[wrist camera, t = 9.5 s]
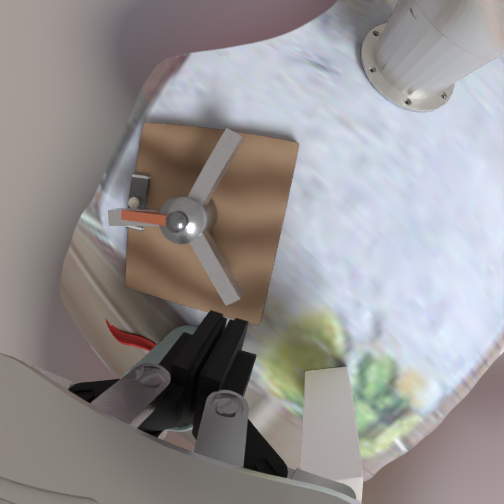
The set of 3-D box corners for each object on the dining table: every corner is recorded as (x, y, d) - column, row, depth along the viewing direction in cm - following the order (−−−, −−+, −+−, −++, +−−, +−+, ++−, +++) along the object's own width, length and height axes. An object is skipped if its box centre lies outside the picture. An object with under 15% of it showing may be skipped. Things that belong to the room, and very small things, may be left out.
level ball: (132, 195, 34) (126, 196, 32) (142, 197, 34) (136, 198, 32) (131, 206, 34) (125, 207, 33) (140, 208, 34) (134, 209, 33)
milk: (304, 370, 38) (293, 508, 17) (347, 365, 37) (365, 502, 16) (307, 401, 39) (297, 529, 18) (347, 396, 38) (358, 524, 17)
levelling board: (150, 124, 33) (144, 122, 32) (299, 144, 31) (299, 143, 30) (131, 283, 39) (125, 286, 38) (260, 320, 37) (258, 325, 36)
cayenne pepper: (102, 324, 43) (96, 329, 41) (110, 305, 42) (103, 310, 40) (159, 369, 43) (154, 375, 41) (170, 352, 42) (165, 358, 40)
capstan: (121, 210, 35) (89, 217, 28) (242, 129, 30) (227, 117, 24) (180, 316, 37) (159, 340, 30) (311, 255, 32) (312, 274, 26)
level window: (135, 173, 34) (132, 173, 33) (151, 175, 33) (148, 175, 33) (128, 226, 35) (126, 227, 35) (144, 230, 35) (141, 231, 35)
